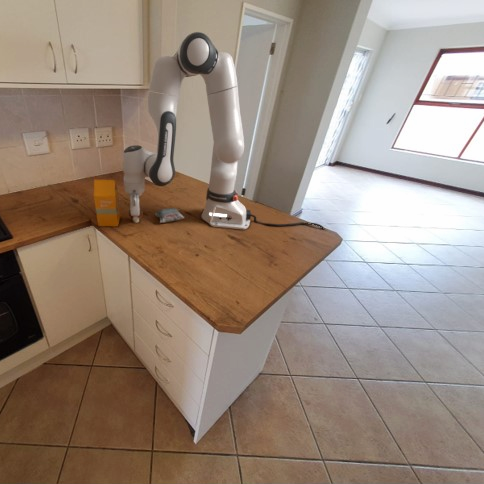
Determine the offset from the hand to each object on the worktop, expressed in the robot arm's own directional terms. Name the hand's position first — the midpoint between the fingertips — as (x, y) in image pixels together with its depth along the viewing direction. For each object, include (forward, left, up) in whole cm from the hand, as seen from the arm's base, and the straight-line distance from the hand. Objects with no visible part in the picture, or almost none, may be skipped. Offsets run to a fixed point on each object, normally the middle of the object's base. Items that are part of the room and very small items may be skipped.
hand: (135, 215), depth 113 cm
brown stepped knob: (0, 0, -3) cm, 3 cm away
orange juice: (+11, +5, -3) cm, 12 cm away
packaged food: (-14, -7, -3) cm, 16 cm away
